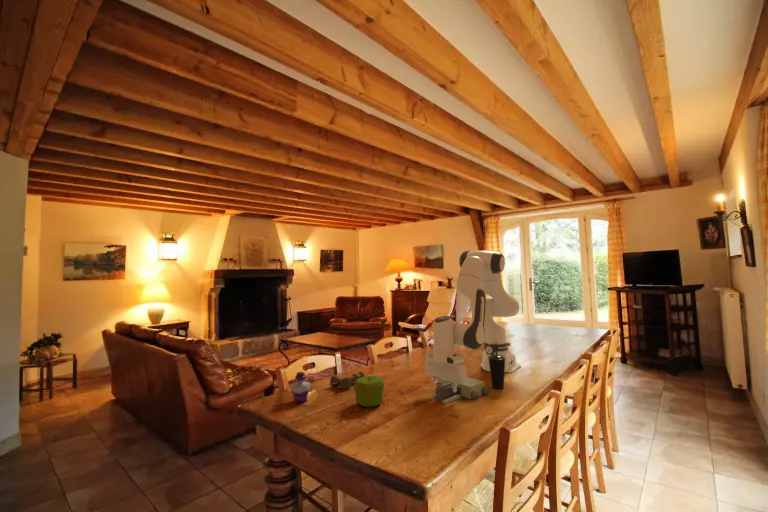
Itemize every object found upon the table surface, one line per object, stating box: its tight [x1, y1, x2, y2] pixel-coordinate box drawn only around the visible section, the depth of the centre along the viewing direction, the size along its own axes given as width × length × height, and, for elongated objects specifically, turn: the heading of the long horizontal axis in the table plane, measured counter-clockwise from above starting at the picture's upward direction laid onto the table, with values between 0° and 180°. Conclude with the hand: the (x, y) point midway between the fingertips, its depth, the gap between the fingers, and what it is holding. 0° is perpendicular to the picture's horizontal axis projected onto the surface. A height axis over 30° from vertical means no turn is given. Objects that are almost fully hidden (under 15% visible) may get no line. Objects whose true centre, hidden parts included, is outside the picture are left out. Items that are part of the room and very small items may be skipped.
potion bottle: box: [290, 371, 311, 405], centre depth 146 cm, size 9×9×12 cm
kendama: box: [328, 371, 366, 392], centre depth 164 cm, size 6×10×20 cm
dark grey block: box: [434, 383, 456, 403], centre depth 145 cm, size 8×4×6 cm, turn 131°
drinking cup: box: [488, 343, 506, 391], centre depth 156 cm, size 8×8×20 cm
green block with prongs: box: [429, 376, 490, 405], centre depth 149 cm, size 22×19×5 cm
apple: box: [353, 375, 385, 408], centre depth 140 cm, size 12×12×11 cm
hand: (445, 388), depth 145 cm, fingers open, 8 cm apart
